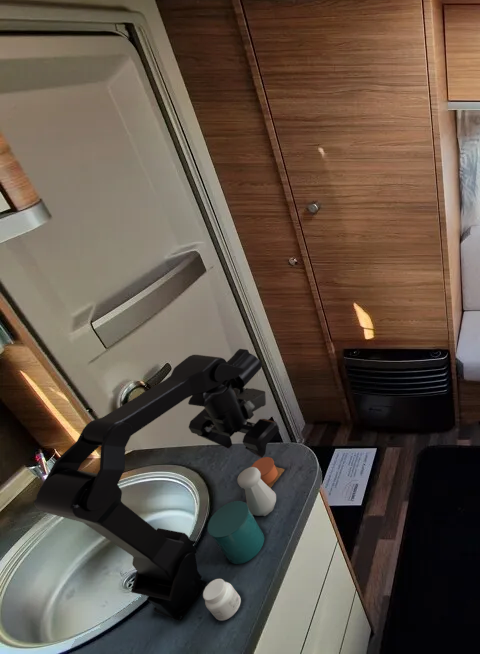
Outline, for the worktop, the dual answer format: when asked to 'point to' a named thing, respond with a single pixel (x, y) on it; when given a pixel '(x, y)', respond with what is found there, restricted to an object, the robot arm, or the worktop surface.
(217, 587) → the pill bottle
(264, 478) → the brown lid
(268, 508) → the salt shaker
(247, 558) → the tin
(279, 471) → the coaster
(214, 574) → the worktop surface
